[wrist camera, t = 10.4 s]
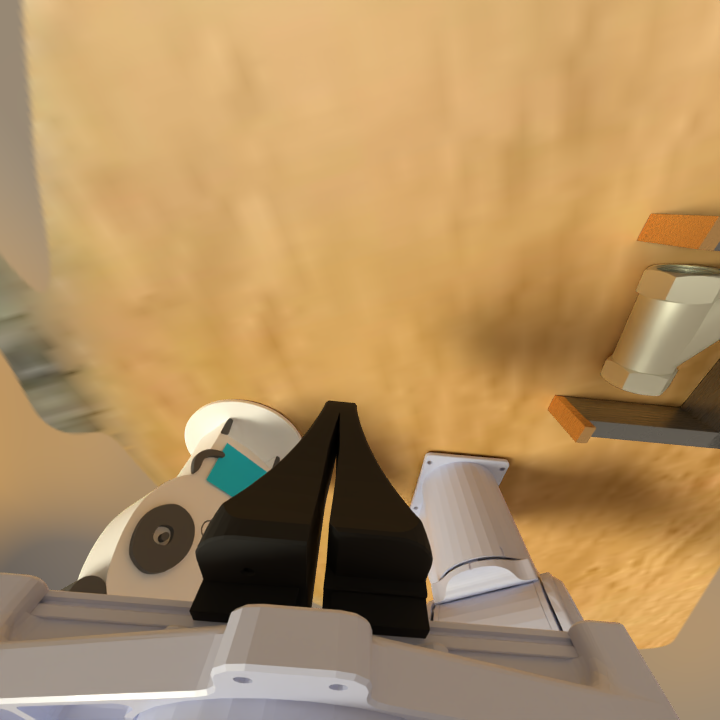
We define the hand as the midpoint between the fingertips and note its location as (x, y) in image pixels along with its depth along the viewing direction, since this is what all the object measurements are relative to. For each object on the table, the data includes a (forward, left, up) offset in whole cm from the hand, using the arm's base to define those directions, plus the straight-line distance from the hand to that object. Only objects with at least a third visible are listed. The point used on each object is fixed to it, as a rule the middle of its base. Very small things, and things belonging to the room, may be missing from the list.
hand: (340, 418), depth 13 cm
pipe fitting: (+4, -22, -10) cm, 24 cm away
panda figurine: (-13, +9, -10) cm, 18 cm away
